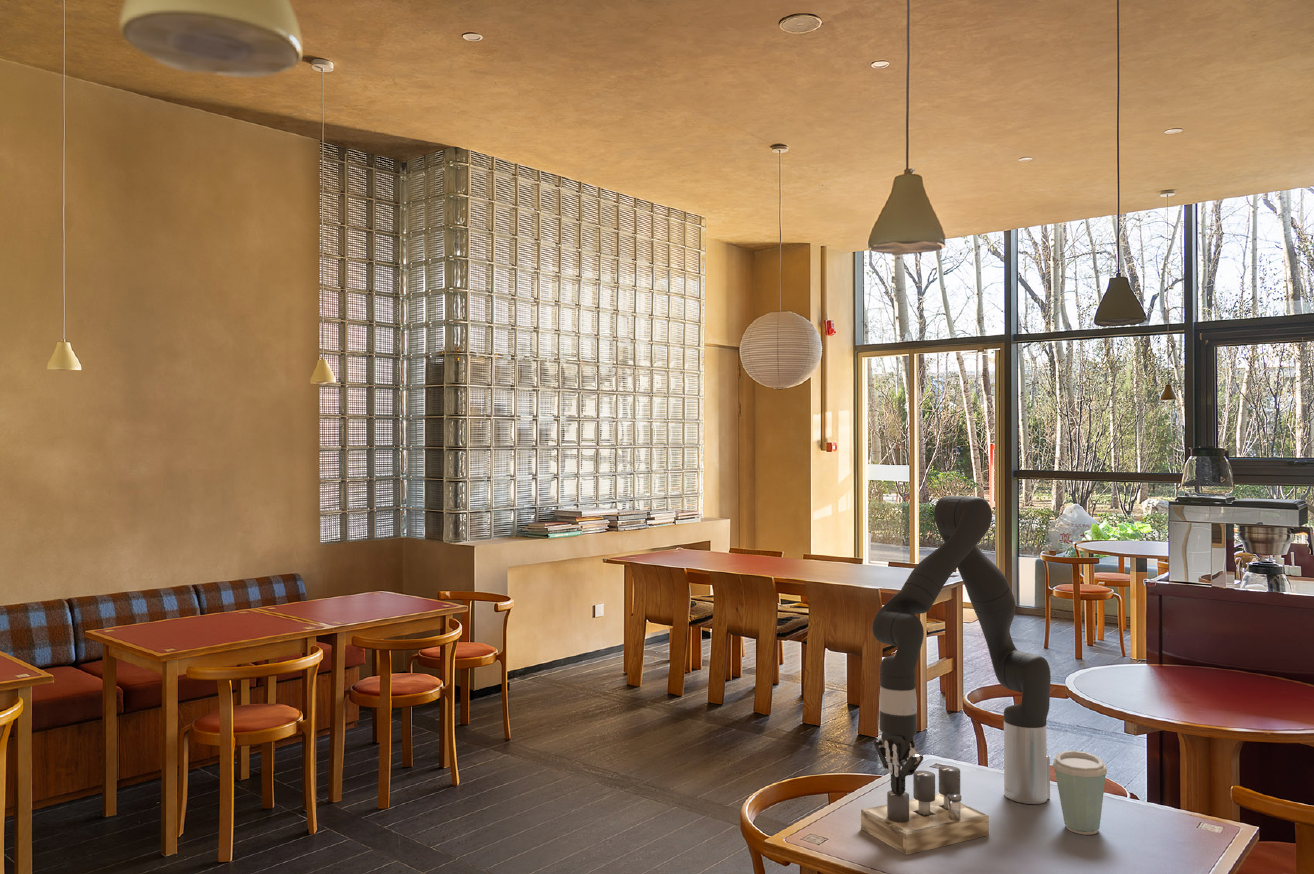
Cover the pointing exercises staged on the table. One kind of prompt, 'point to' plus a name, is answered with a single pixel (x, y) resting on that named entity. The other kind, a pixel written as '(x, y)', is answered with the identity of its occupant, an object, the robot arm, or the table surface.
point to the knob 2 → (949, 781)
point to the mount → (925, 826)
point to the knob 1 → (898, 807)
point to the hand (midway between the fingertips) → (897, 793)
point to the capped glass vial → (954, 806)
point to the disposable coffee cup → (1080, 790)
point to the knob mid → (924, 790)
